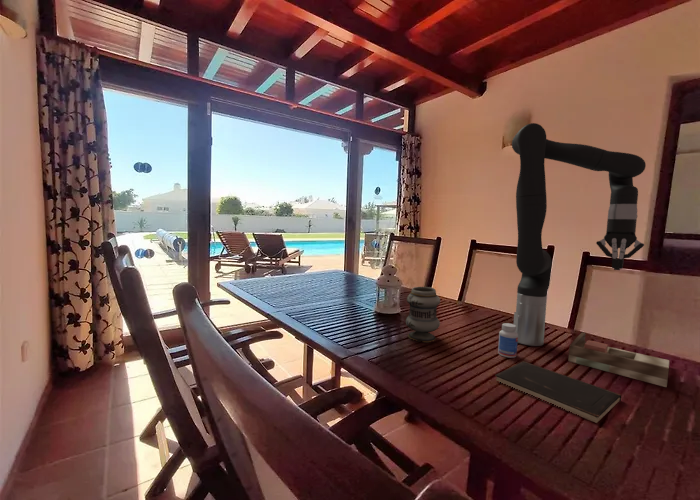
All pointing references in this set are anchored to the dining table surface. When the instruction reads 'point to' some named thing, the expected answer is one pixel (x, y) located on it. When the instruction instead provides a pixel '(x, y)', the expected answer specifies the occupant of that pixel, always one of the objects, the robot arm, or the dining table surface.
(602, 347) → the brown block
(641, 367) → the trap tray
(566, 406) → the hardcover book
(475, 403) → the dining table surface
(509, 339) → the pill bottle
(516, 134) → the robot arm
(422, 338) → the apothecary jar
